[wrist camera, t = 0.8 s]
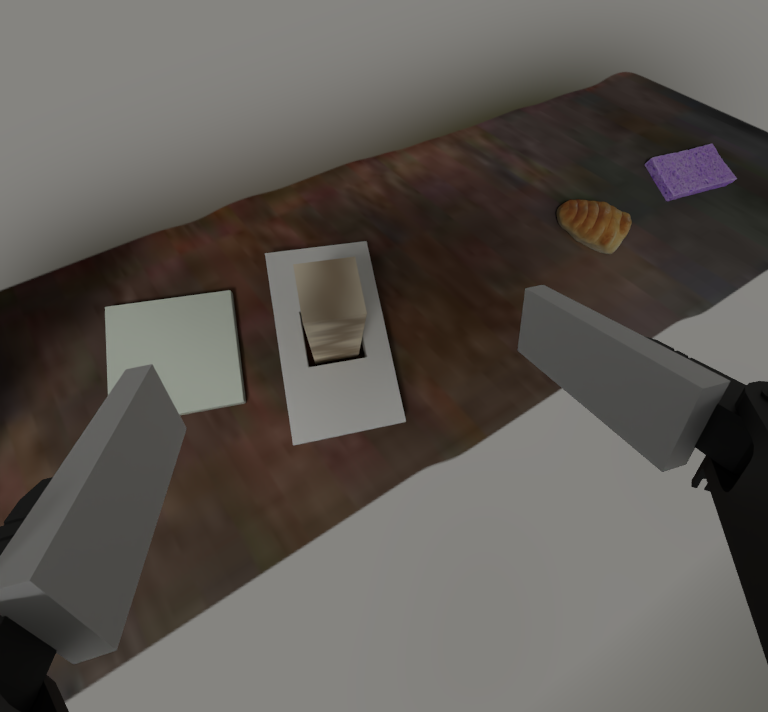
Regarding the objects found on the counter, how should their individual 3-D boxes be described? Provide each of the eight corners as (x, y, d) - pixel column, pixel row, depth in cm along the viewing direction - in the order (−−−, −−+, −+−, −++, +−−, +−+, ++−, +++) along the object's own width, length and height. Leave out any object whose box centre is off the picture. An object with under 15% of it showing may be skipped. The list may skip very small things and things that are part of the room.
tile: (115, 427, 36) (109, 426, 35) (110, 310, 39) (104, 307, 38) (246, 402, 38) (243, 401, 37) (232, 293, 41) (230, 290, 40)
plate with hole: (295, 445, 38) (293, 445, 36) (268, 261, 43) (264, 253, 41) (402, 422, 40) (405, 421, 38) (365, 249, 45) (366, 241, 43)
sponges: (640, 166, 54) (651, 157, 53) (703, 151, 57) (715, 141, 55) (663, 204, 53) (674, 196, 51) (725, 187, 55) (738, 178, 54)
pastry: (547, 234, 49) (564, 217, 45) (558, 197, 51) (575, 177, 47) (609, 260, 49) (631, 244, 45) (617, 222, 51) (639, 204, 47)
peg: (315, 363, 40) (302, 323, 27) (308, 323, 41) (292, 264, 28) (358, 356, 41) (366, 313, 28) (350, 316, 42) (355, 256, 29)
